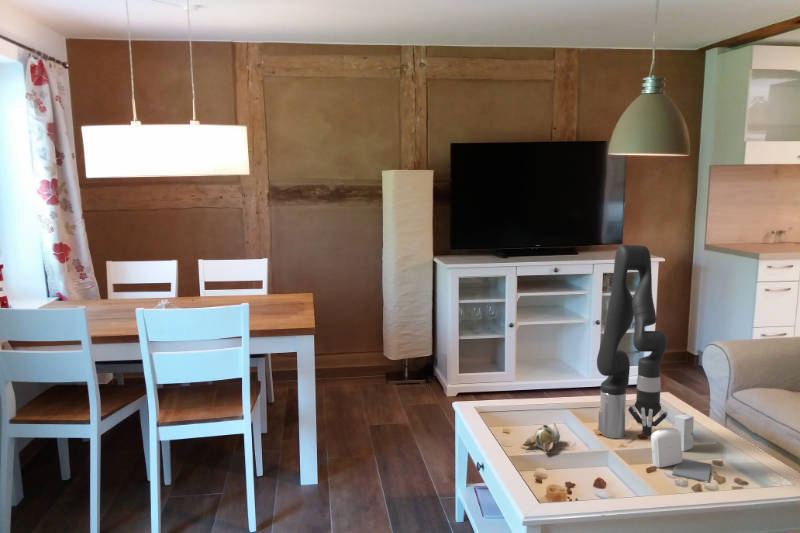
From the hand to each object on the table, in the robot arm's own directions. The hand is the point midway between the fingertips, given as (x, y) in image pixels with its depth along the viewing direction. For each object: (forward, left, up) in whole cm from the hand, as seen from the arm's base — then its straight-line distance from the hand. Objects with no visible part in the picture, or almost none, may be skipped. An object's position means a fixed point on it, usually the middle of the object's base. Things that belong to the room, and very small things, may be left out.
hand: (646, 436), depth 202 cm
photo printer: (+7, 0, -9) cm, 11 cm away
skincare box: (+10, +18, -9) cm, 23 cm away
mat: (+14, 0, -9) cm, 17 cm away
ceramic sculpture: (-34, -6, -9) cm, 36 cm away
